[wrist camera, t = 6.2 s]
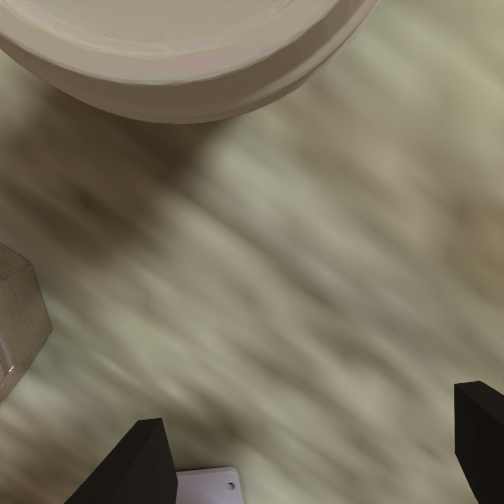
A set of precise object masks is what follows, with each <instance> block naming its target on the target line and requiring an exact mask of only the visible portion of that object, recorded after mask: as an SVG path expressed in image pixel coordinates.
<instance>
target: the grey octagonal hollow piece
mask: <svg viewBox="0 0 504 504" xmlns="http://www.w3.org/2000/svg"><path fill="white" fill-rule="evenodd" d="M29 263H30V262H29V261H27V260H26V259H24V258H23V257H21V256H19V255H18V254H16V253H15V252H13V251H11V250H10V249H8V248H7V247H5V246H4V245H2V244H0V401H1V400H2V399H3V398H4V397H5V396H6V395H7V394H8V393H9V391H10V390H11V389H12V388H13V387H14V386H15V385H16V384H17V383H18V382H19V381H20V380H21V378H22V377H23V375H24V373H25V372H26V370H27V369H28V367H29V366H30V364H31V363H32V361H33V360H34V358H35V357H36V355H37V354H38V352H39V351H40V349H41V348H42V346H43V345H44V343H45V341H46V340H47V338H48V337H49V335H50V334H51V332H52V330H53V329H52V326H51V323H50V320H49V317H48V314H47V311H46V308H45V305H44V302H43V298H42V295H41V292H40V289H39V286H38V283H37V280H36V277H35V274H34V271H33V268H32V265H31V263H30V264H29Z"/></svg>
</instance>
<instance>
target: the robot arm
mask: <svg viewBox="0 0 504 504" xmlns="http://www.w3.org/2000/svg"><path fill="white" fill-rule="evenodd" d="M454 412H455V454H456V456H457V459H458V461H459V463H460V465H461V468H462V470H463V472H464V474H465V477H466V479H467V481H468V483H469V485H470V487H471V489H472V492H473V494H474V496H475V498H476V499H477V501H478V503H479V504H504V395H503V394H501V393H499V392H498V391H496V390H495V389H493V388H491V387H490V386H488V385H486V384H485V383H483V382H481V381H475V382H466V383H458V384H454ZM228 483H233V484H228ZM64 504H244V499H243V494H242V489H241V484H240V479H239V474H238V472H237V470H236V469H235V468H233V467H221V468H211V469H202V470H193V471H183V472H176V471H175V467H174V463H173V460H172V456H171V452H170V448H169V444H168V440H167V437H166V433H165V429H164V425H163V421H162V418H155V419H147V420H138V421H137V422H136V423H135V425H134V426H133V427H132V428H131V429H130V430H129V431H128V432H127V434H126V435H125V436H124V437H123V438H122V439H121V441H120V442H119V443H118V444H117V445H116V446H115V448H114V449H113V450H112V451H111V452H110V453H109V454H108V456H107V457H106V458H105V459H104V460H103V461H102V462H101V464H100V465H99V466H98V467H97V468H96V469H95V470H94V472H93V473H92V474H91V475H90V476H89V477H88V478H87V479H86V481H85V482H84V483H83V484H82V485H81V486H80V487H79V488H78V489H77V490H76V491H75V492H74V493H73V495H72V496H71V497H70V498H69V499H68V500H67V501H66V502H65V503H64Z"/></svg>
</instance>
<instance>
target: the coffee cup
mask: <svg viewBox="0 0 504 504" xmlns="http://www.w3.org/2000/svg"><path fill="white" fill-rule="evenodd" d="M380 2H381V0H0V49H1V50H3V51H4V52H5V53H6V54H7V55H8V56H10V57H11V58H12V59H13V60H15V61H16V62H17V63H19V64H20V65H21V66H23V67H24V68H26V69H27V70H29V71H30V72H31V73H33V74H34V75H36V76H37V77H39V78H40V79H42V80H44V81H45V82H47V83H49V84H50V85H52V86H54V87H56V88H58V89H59V90H61V91H63V92H64V93H66V94H68V95H70V96H72V97H74V98H76V99H78V100H80V101H82V102H84V103H86V104H88V105H91V106H93V107H95V108H98V109H101V110H103V111H106V112H109V113H112V114H115V115H119V116H122V117H126V118H130V119H135V120H140V121H146V122H153V123H163V124H194V123H205V122H212V121H218V120H223V119H227V118H231V117H235V116H239V115H242V114H245V113H248V112H251V111H254V110H256V109H259V108H261V107H264V106H266V105H268V104H270V103H272V102H274V101H276V100H278V99H280V98H282V97H284V96H286V95H287V94H289V93H291V92H292V91H294V90H296V89H297V88H299V87H300V86H302V85H303V84H305V83H306V82H308V81H309V80H310V79H312V78H313V77H314V76H315V75H317V74H318V73H319V72H320V71H322V70H323V69H324V68H325V67H326V66H327V65H329V64H330V63H331V62H332V61H333V60H334V59H335V58H336V57H337V56H338V55H339V54H340V53H341V52H342V51H343V50H344V49H345V48H346V47H347V46H348V45H349V44H350V42H351V41H352V40H353V39H354V38H355V37H356V35H357V34H358V33H359V32H360V30H361V29H362V28H363V27H364V25H365V24H366V23H367V21H368V20H369V18H370V17H371V16H372V14H373V13H374V11H375V10H376V8H377V7H378V5H379V4H380Z"/></svg>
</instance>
